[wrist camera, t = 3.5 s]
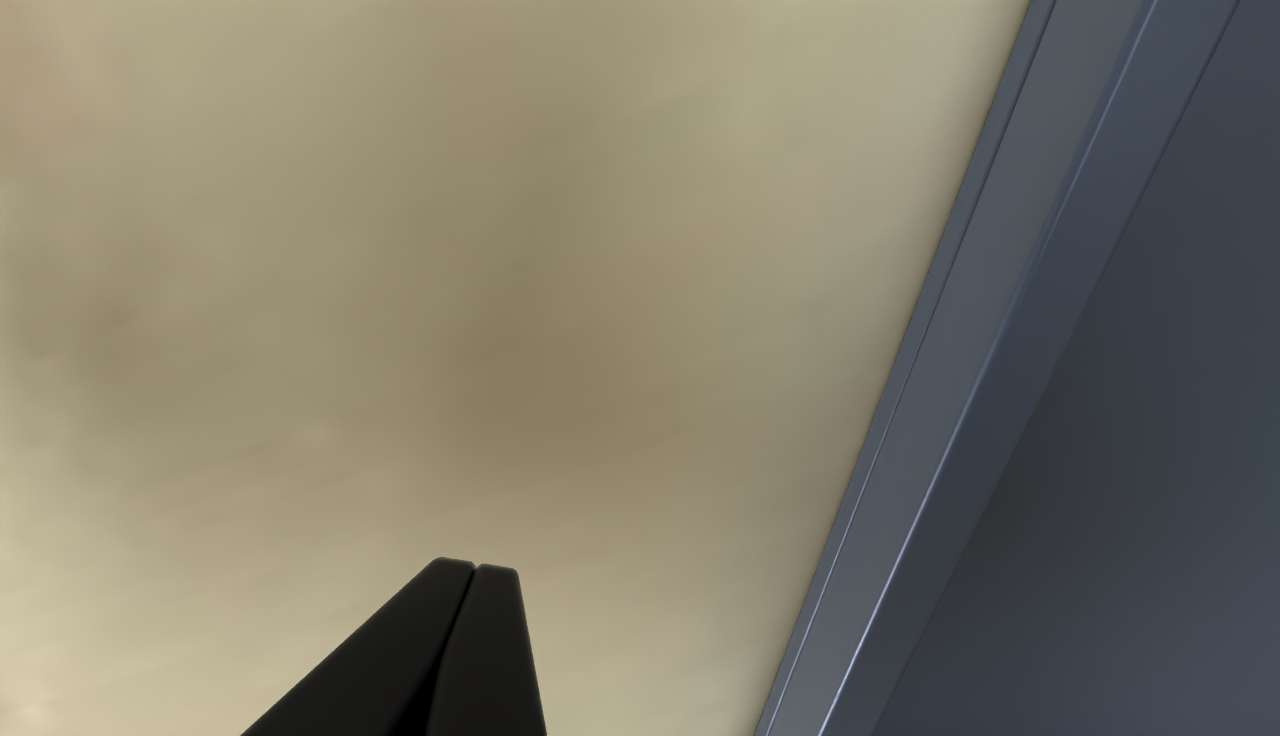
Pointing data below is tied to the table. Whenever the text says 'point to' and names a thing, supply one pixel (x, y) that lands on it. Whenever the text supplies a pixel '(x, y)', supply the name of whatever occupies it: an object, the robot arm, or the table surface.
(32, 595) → the table surface
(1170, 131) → the tray
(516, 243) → the table surface
